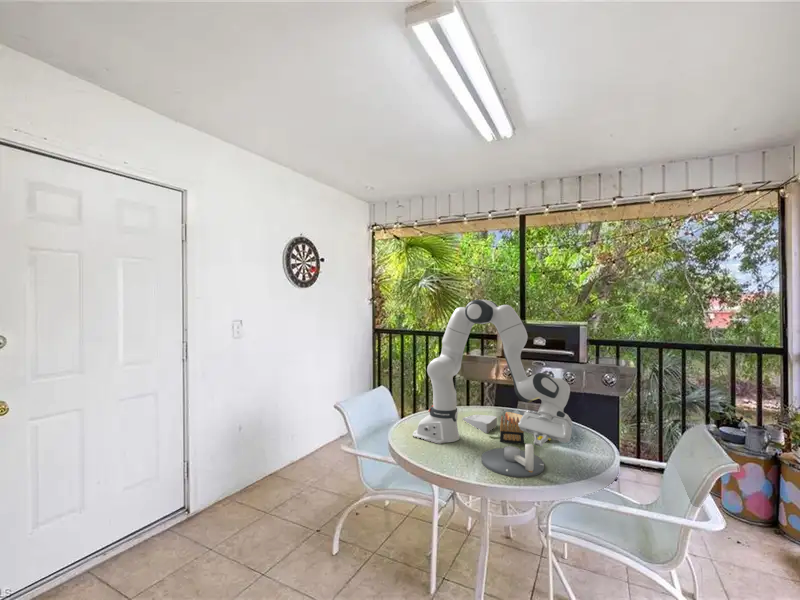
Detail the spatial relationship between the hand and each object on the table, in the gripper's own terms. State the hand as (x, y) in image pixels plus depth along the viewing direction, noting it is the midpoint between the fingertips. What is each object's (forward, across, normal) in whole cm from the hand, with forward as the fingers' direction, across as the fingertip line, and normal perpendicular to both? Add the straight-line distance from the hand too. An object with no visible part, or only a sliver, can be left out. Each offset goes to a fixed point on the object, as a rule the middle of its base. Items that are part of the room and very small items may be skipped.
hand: (537, 445), depth 145 cm
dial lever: (+8, -5, +2) cm, 10 cm away
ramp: (-13, -47, +27) cm, 56 cm away
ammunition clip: (-6, -22, +20) cm, 30 cm away
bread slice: (-27, -38, +41) cm, 63 cm away
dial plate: (+8, -10, +5) cm, 14 cm away
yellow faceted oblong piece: (-19, -18, +32) cm, 41 cm away
